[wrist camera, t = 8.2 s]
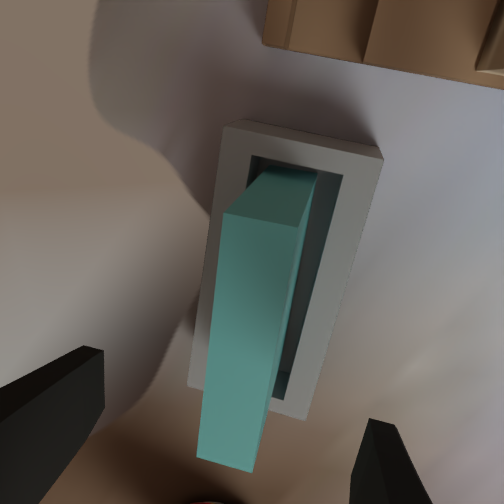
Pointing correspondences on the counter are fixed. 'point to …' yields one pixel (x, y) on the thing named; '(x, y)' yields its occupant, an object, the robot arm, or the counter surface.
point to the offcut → (494, 46)
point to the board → (252, 311)
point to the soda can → (208, 503)
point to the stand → (314, 250)
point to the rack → (389, 34)
